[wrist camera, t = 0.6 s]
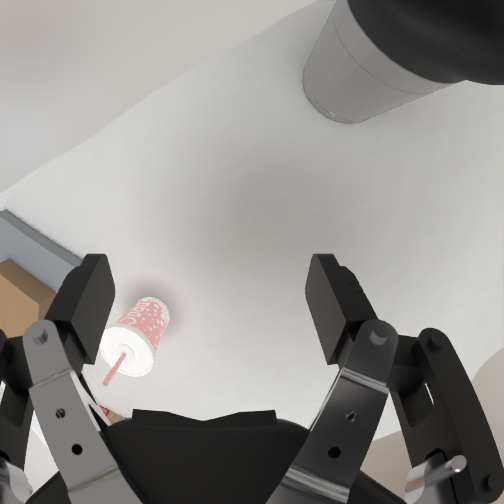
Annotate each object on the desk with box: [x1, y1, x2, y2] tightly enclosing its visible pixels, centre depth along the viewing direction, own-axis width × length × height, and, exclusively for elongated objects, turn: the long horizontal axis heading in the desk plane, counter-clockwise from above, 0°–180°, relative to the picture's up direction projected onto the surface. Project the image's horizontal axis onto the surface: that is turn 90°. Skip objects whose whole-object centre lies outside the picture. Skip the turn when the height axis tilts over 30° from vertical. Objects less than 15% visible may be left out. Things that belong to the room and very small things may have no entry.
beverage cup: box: [99, 297, 170, 386], centre depth 28 cm, size 6×6×14 cm
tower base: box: [0, 210, 83, 338], centre depth 31 cm, size 20×20×6 cm
